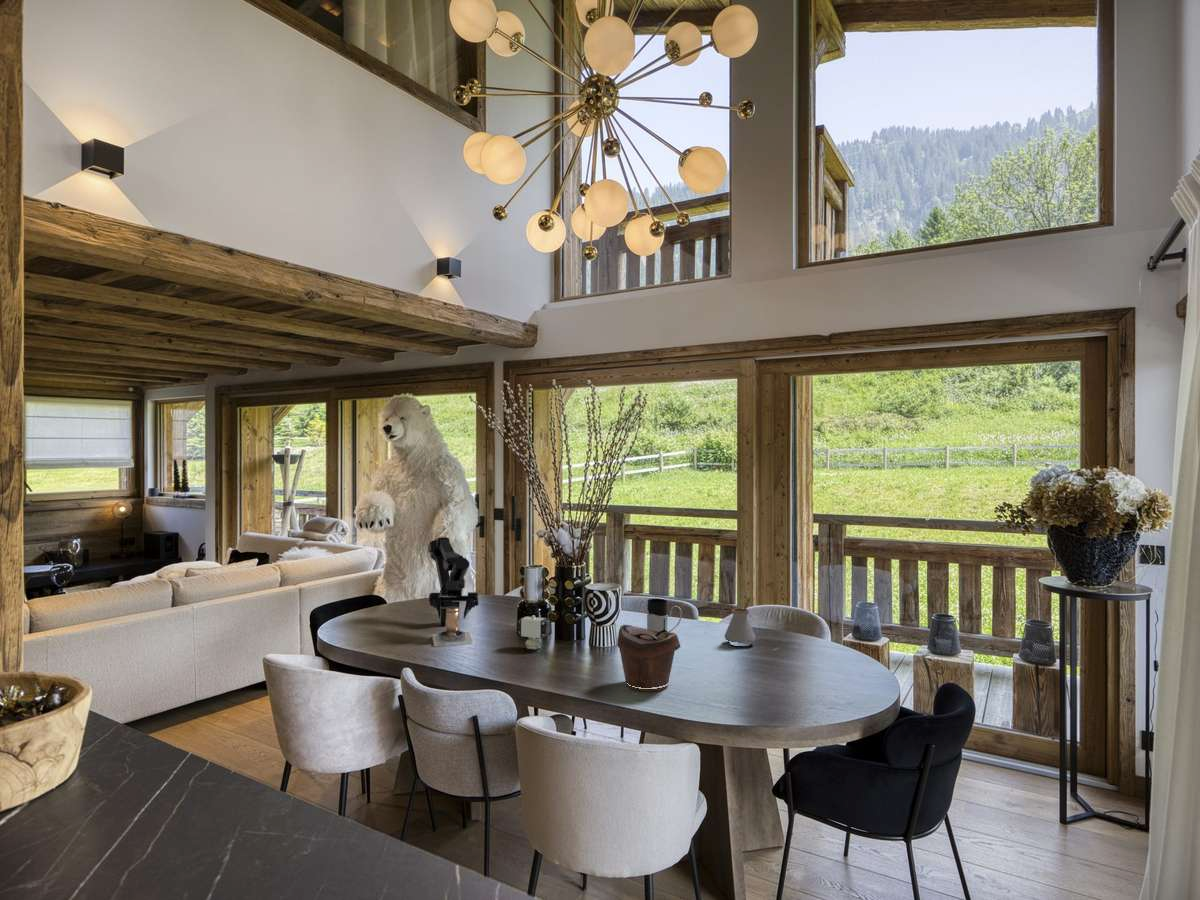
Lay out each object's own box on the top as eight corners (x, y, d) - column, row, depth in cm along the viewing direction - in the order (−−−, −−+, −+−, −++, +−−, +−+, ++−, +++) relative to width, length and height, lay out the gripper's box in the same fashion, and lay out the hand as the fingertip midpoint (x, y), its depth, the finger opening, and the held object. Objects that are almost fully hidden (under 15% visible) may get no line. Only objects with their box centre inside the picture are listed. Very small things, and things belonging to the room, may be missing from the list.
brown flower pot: (690, 691, 206) (689, 631, 206) (627, 698, 200) (626, 636, 201) (667, 674, 223) (667, 619, 224) (608, 680, 217) (608, 623, 218)
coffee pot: (751, 650, 251) (751, 609, 251) (720, 646, 256) (720, 605, 256) (764, 636, 270) (764, 598, 271) (735, 633, 275) (735, 595, 276)
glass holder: (650, 635, 271) (650, 597, 271) (685, 640, 265) (685, 600, 265) (642, 641, 263) (642, 601, 263) (677, 645, 257) (677, 605, 257)
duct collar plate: (432, 636, 268) (432, 630, 268) (468, 634, 271) (468, 628, 271) (434, 646, 254) (434, 639, 254) (472, 643, 258) (472, 636, 258)
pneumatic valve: (545, 651, 248) (545, 618, 248) (516, 648, 252) (516, 615, 252) (551, 647, 253) (551, 614, 253) (522, 644, 257) (522, 612, 257)
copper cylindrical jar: (444, 636, 265) (445, 607, 265) (458, 635, 266) (458, 606, 266) (445, 639, 260) (446, 610, 260) (459, 638, 261) (460, 609, 261)
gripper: (429, 572, 267) (424, 606, 256) (478, 571, 269) (475, 606, 258) (433, 588, 275) (428, 622, 264) (480, 587, 277) (477, 622, 265)
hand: (451, 618), depth 263 cm, fingers open, 9 cm apart
